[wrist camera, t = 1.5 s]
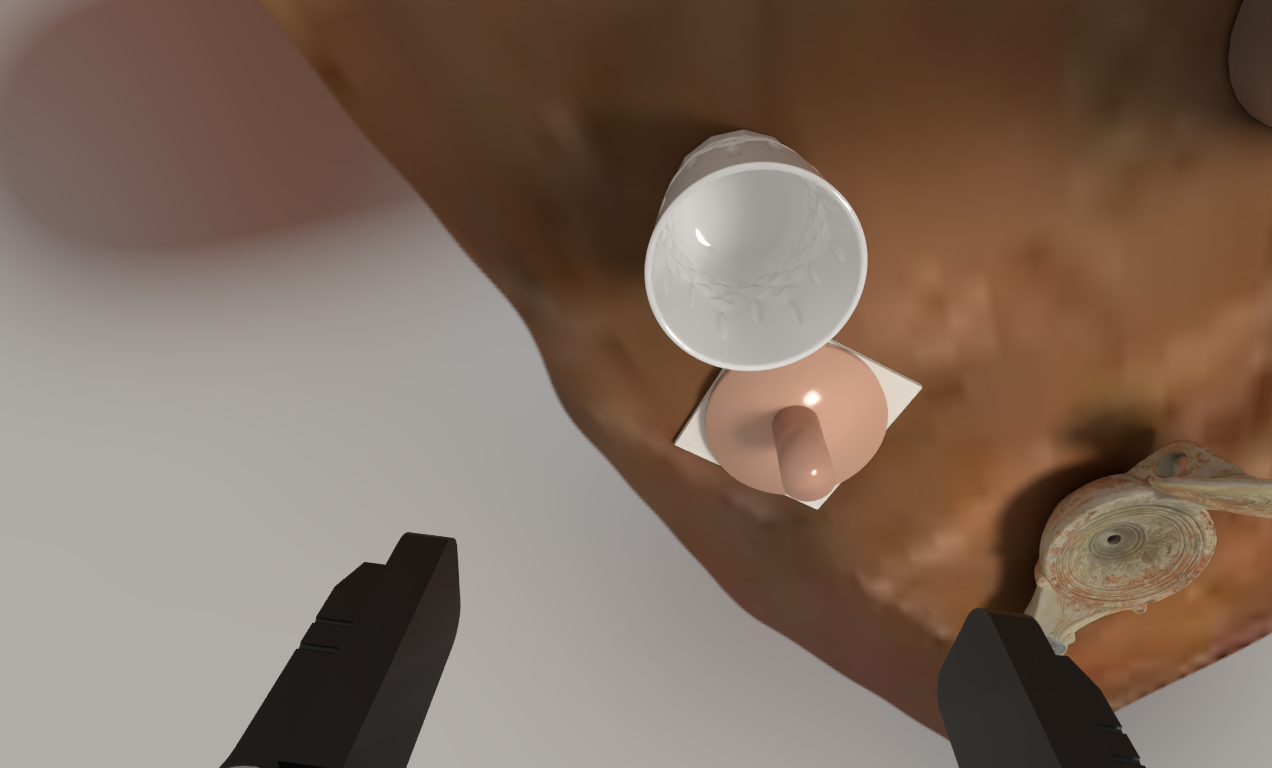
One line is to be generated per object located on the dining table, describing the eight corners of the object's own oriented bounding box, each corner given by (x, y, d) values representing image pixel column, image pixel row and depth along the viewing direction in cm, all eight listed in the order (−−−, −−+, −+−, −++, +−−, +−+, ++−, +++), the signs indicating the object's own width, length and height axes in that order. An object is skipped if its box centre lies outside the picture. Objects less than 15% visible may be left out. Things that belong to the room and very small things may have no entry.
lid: (922, 387, 36) (959, 450, 31) (817, 509, 41) (834, 580, 36) (765, 307, 35) (777, 360, 30) (674, 444, 39) (672, 509, 34)
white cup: (705, 84, 30) (711, 118, 21) (853, 164, 31) (915, 228, 23) (630, 236, 34) (609, 318, 25) (764, 302, 35) (789, 402, 26)
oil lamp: (1280, 395, 36) (1468, 523, 27) (1057, 647, 46) (1140, 795, 38) (1131, 355, 35) (1274, 472, 26) (940, 619, 46) (998, 763, 37)
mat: (920, 383, 37) (922, 387, 36) (816, 505, 41) (817, 509, 41) (764, 304, 35) (764, 307, 35) (674, 440, 40) (674, 444, 39)
